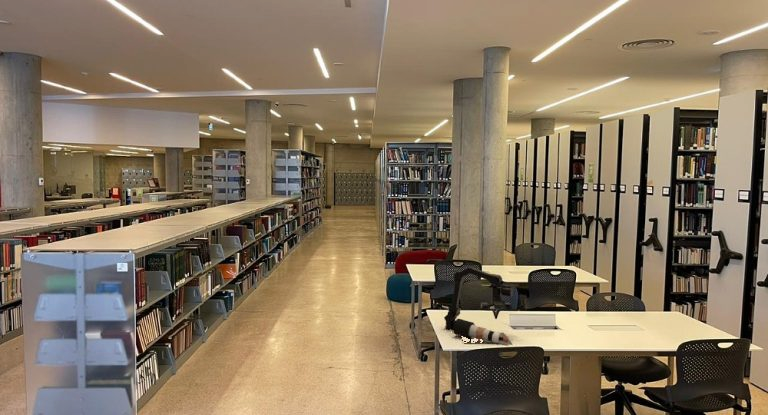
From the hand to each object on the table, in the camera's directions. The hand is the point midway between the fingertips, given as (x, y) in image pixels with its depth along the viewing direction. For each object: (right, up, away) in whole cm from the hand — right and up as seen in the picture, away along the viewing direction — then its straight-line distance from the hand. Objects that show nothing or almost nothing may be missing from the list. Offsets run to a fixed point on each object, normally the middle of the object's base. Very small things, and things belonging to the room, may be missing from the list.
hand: (495, 319), depth 345 cm
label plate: (-8, -11, -4) cm, 14 cm away
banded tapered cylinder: (-11, -11, -9) cm, 18 cm away
